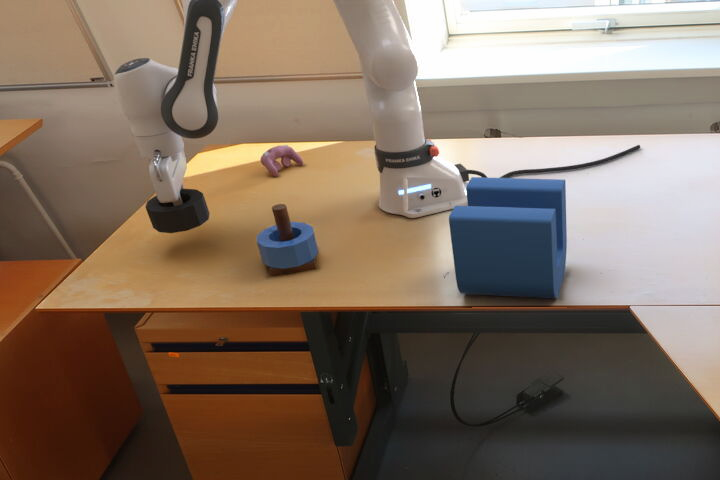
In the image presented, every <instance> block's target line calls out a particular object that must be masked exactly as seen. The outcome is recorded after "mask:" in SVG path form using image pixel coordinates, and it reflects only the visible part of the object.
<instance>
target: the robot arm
mask: <svg viewBox="0 0 720 480" xmlns="http://www.w3.org/2000/svg"><path fill="white" fill-rule="evenodd" d="M332 1H333V3H334V5H335V8H336V10H337V12H338V14H339V16H340V18H341V20H342V23H343V25H344V28H345V29H346V31H347V33H348V35H349V37H350V40H351V41H352V44H353V46H354V48H355V51H356V52H357V54H358V59H359V64H360V70H361V74H362V80H363V85H364V89H365V94H366V99H367V104H368V108H369V113H370V119H371V125H372V131H373V137H374V141H375V144H374V157H375V164H376V168H377V171H378V172H379V199H378V207H379V208H380V209H381V210H382V211H383V212H386V213H388V214H392V215H393V214H394V215H400V216H404V217H406V218H410V219H416V218H420V217H425V216H429V215H433V214H437V213H441V212H446V211H450V210H453V209H454V207H455V206H468V201H467V192H466V187H467V184H468V183H469V181H470V177H469V176H470V175H476V176H478V177H486V178H489V177H488V176H487V175H486V174H485V173H484V172H482V171H479V170H474V169H468V168H466V166H464V165H463V164H462V163H460V162H459V163H456V164H453V163H452V162H450V161H448V160H446V159H444V158H442V157H441V156H439V155H440V151H439V148H438V147H437V146H436V145H435V143H434V142H433V141H432V140H431V139H430V138H428V139H427V138H426V137H425V131H424V123H423V122H424V121H423V115H422V107H421V103H420V98H419V95H418V91H417V85H416V79H417V76H418V73H419V57H418V53H417V50H416V48H415V46H414V43H413V42H412V39H411V37H410V35H409V32H408V29H407V28H406V25H405V23H404V21H403V18H402V17H401V14H400V12H399V10H398V8H397V5H396V3H395V2H394V0H332ZM238 2H239V0H181V4H182V12H183V36H182V37H183V38H182V44H181V50H180V55H179V56H180V57H179V63H178V67H173V66H169V65H165V64H162V63H160V62H157V61H155V60H153V59H152V58H148V57H142V58H136V59H131V60H129V61H127V62H125V63H124V64H121V65H120V66H119V67H118V68H117V69H116V71H115V73H114V75H113V81H114V87H115V90H116V94H117V98H118V101H119V104H120V106H121V109H122V112H123V113H124V115H125V116H126V118H127V120H128V122H129V127H130V133H131V136H132V139H133V142H134V144H135V146H136V149H137V153H138V155H139V156H140V157H141V158H142V159H147V160H148V163H149V165H148V171H149V176H150V180H151V183H152V186H153V189H154V193H155V196H156V195H157V198H158V200H159V201H160V202H161V203H167V202H173V204H174V206H178V205H181V204H183V203H184V202H183V199H181V196H180V189H185V186H184V178H185V174H186V171H187V164H188V163H187V159H186V154H185V150H184V149H185V144H184V140H183V138H185V139H190V140H191V139H193V140H196V139H201V138H205V137H207V136H209V135H210V134H211V133H213V131H214V130H215V129H216V127H217V126H218V123H219V112H218V90H217V87H216V85H215V82H214V81H215V75H216V70H217V64H218V57H219V52H220V46H221V42H222V39H223V36H224V33H225V32H226V29H227V26H228V24H229V22H230V20H231V18H232V16H233V13H234V11H235V9H236V7H237V4H238ZM639 149H641V145H640V144H637V145H634V146H632V147H630V148H628V149H626V150H623V151H620V152H618V153H616V154H613V155H610V156H607V157H604V158H601V159H598V160H594V161H590V162H585V163H579V164H572V165H565V166H556V167H546V168H529V169H518V170H517V169H516V170H512V171H509V172H506V173H504V174H503V175H501V176H500V177H499V178H511V177H512V176H517V175H526V174H527V175H528V174H543V173H555V172H564V171H571V170H578V169H585V168H588V167H593V166H597V165H602V164H605V163H607V162H610V161H613V160H615V159H618V158H621V157H623V156H625V155H628V154H630V153H632V152H635V151H637V150H639Z"/></svg>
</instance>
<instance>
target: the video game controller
mask: <svg viewBox="0 0 720 480" xmlns="http://www.w3.org/2000/svg"><path fill="white" fill-rule="evenodd" d="M278 159H280V162H279V161H278ZM291 161H293V163H295V164H297V165H298V166H301V167H302V166H304V160H303V158H302V156H301V155H300V154H298V152H296V151H295V149H294V148H293V147H292V146H289V145H288V144H281V145H277V146H272V147H271V148H269V149H268V150H266V151H265V152H264V153H262V155H261V157H260V163H261V164H262V166H264V167H265V169H266V170H267V171H268V172H269V173H270V174H271V175H272V176H274V177H279V171H280V170H282V166H283V167H284V168H288V167H290V166H291V163H292V162H291Z"/></svg>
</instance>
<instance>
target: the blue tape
mask: <svg viewBox="0 0 720 480" xmlns="http://www.w3.org/2000/svg"><path fill="white" fill-rule="evenodd" d="M290 223H291V227H292V231H293V235H294V239H292V240H290V241H284V242H281V241H280V237H279V234H278V230H277V226H276V224H274V225H271V226H269V227H265V228H264V229H263V230H262V231H260V232H259V233H258V234H257V235H256V245H257V248H258V251H259V255H260V258H261V263H262V264H263V265H265V266H267V267H268V268H269V267H271V268H282V269H285V268H291V267H297V266H301V265H303V264H305V263H307V262H310V261H312V260H313V259H314V258H315V259H316V257H317V256H318V255H319V248H318V243H317V239H316V235H315V231H314V227H313V226H312V225H310V224H308V223H307V222H300V221H290Z"/></svg>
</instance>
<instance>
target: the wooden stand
mask: <svg viewBox="0 0 720 480" xmlns="http://www.w3.org/2000/svg"><path fill="white" fill-rule="evenodd" d="M271 211H272V214H273V218H274V222H275V225H276V226H277V230H278V234H279V237H280V241H281V242H284V241H290V240H292V239H294V235H293V231H292V227H291V223H290V222H291V219H290V215H289V211H288V206H287V204H284V203H277V204H275V205H272V207H271ZM316 264H317V263H316V257H315V258H314V259H313V260H312V261H310V262H307V263H305V264H303V265H301V266H297V267H291V268H285V269H282V268H271V267H269V266H268V271H269V275H270V276H271V277H273V276H277V275H284V274H285V275H286V274H291V273H296V272H303V271H309V270H315V269H316V268H317V265H316Z"/></svg>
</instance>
